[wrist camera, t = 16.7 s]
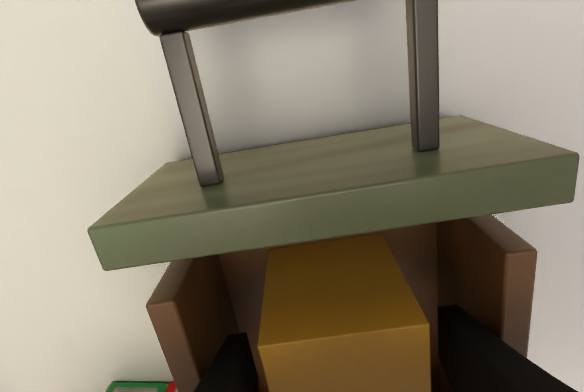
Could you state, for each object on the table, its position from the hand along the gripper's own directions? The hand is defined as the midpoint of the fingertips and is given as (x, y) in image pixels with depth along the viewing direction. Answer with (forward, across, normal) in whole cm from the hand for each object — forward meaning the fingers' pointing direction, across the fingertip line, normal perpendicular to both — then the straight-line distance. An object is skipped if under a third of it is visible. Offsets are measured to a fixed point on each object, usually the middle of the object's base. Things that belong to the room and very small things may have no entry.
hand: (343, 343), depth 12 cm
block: (+3, 0, 0) cm, 3 cm away
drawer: (+4, 0, -2) cm, 4 cm away
